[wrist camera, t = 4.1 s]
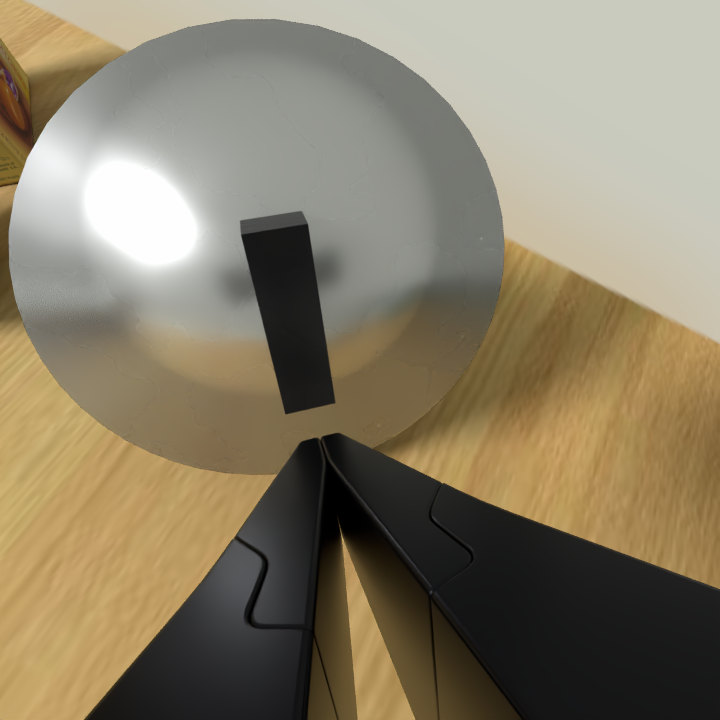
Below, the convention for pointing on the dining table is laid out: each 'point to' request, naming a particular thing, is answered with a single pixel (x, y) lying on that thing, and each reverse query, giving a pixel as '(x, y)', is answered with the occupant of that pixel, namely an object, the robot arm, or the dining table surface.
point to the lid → (255, 244)
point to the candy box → (13, 118)
